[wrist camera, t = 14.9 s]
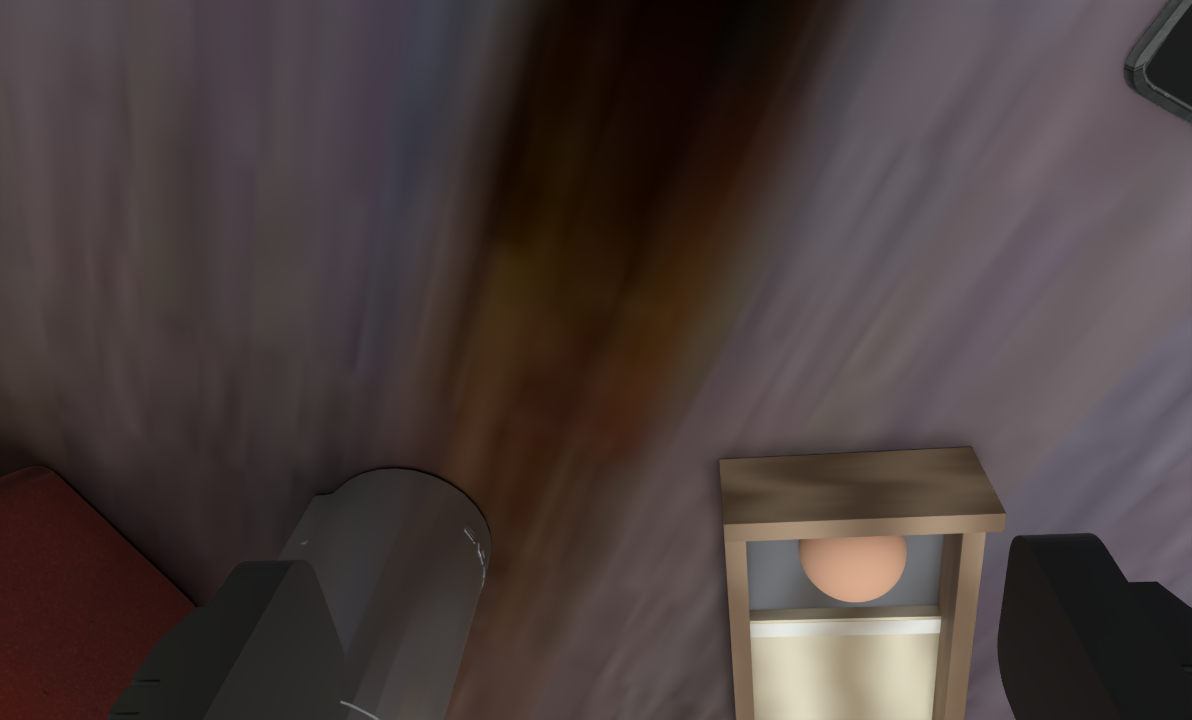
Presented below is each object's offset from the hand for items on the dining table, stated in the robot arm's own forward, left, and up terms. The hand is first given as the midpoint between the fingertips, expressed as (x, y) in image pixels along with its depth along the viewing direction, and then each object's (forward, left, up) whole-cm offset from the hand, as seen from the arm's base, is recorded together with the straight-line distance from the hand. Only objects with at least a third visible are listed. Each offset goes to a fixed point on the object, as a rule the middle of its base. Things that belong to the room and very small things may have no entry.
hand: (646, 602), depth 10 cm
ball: (+7, -22, -25) cm, 34 cm away
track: (+7, -36, -28) cm, 46 cm away
